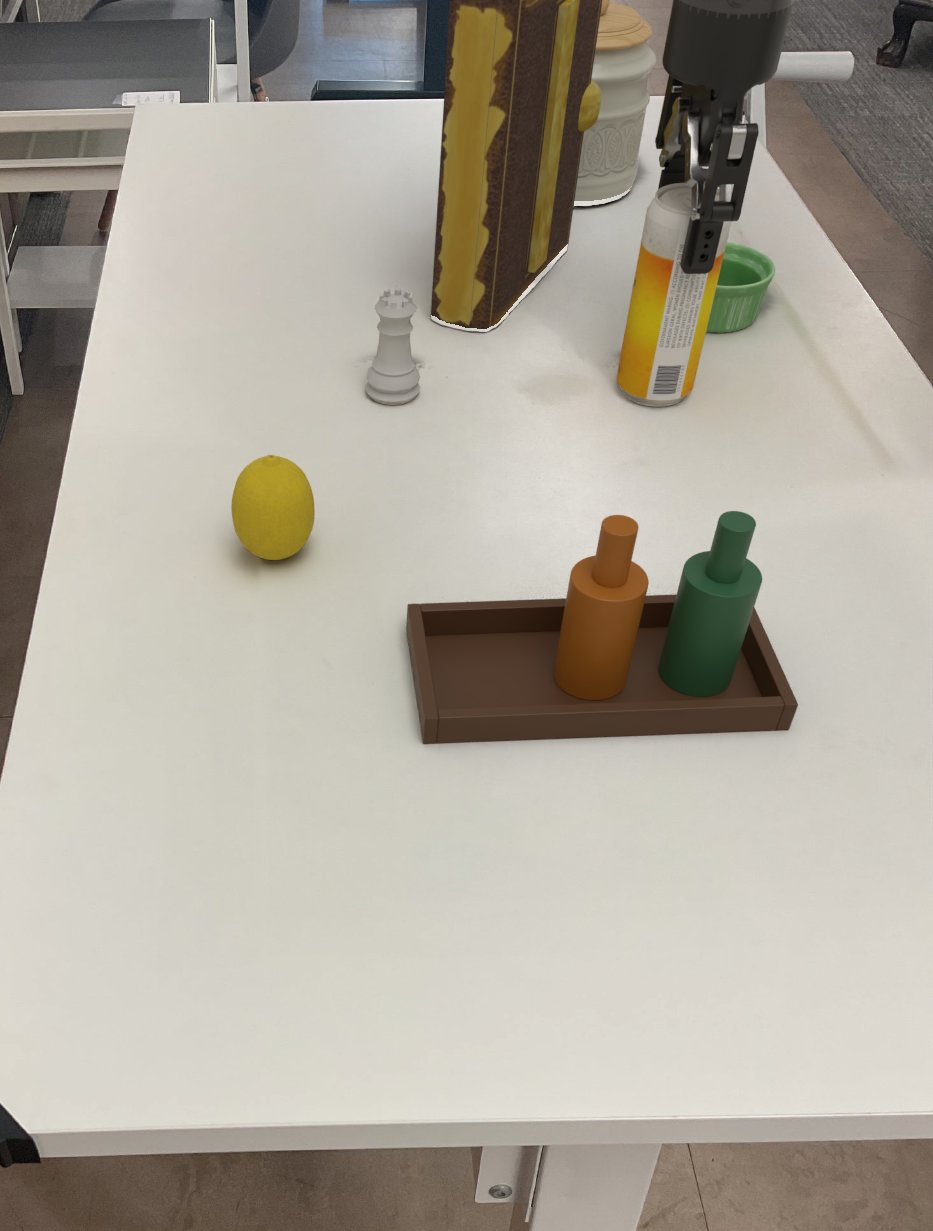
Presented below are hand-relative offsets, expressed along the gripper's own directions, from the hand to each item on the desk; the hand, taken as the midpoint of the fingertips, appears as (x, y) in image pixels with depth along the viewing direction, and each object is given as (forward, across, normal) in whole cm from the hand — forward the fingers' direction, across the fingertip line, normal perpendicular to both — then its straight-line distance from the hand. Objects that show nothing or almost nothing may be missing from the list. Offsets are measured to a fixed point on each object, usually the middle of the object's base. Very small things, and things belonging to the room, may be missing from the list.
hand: (680, 246), depth 92 cm
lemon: (+12, -21, +31) cm, 39 cm away
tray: (+12, -35, +12) cm, 39 cm away
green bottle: (+11, -35, +5) cm, 37 cm away
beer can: (+12, 0, 0) cm, 12 cm away
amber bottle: (+11, -35, +12) cm, 39 cm away
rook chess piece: (+12, +1, +21) cm, 24 cm away
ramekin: (+12, +13, -8) cm, 19 cm away
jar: (+12, +42, -1) cm, 44 cm away
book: (+12, +21, +9) cm, 26 cm away
